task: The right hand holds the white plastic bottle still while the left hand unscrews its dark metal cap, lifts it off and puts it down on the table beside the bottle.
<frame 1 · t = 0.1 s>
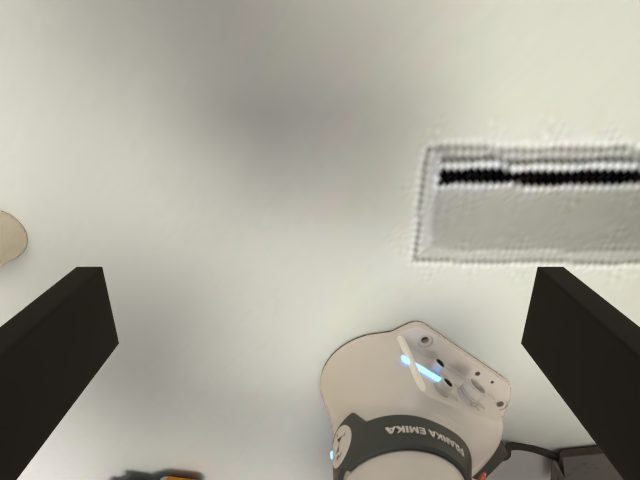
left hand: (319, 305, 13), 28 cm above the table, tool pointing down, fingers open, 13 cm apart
bottle: (0, 234, 42), on the table
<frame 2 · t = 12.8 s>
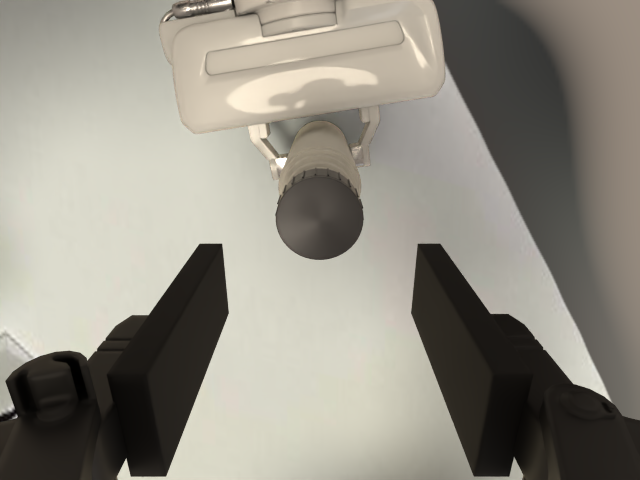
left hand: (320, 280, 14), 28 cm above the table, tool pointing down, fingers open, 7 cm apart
right hand: (322, 171, 34), fingers closed on bottle, 5 cm apart
cap: (319, 218, 20), point 21 cm above the table, screwed on, not yet turned
bottle: (320, 148, 40), on the table, touching right hand
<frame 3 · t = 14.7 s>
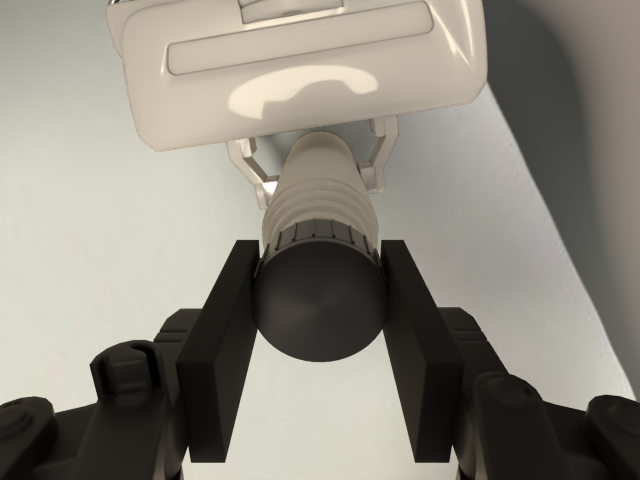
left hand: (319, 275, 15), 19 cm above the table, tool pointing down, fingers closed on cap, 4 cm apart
right hand: (322, 198, 27), fingers closed on bottle, 5 cm apart
cap: (320, 300, 13), point 21 cm above the table, screwed on, not yet turned, touching left hand
bottle: (320, 165, 32), on the table, touching right hand
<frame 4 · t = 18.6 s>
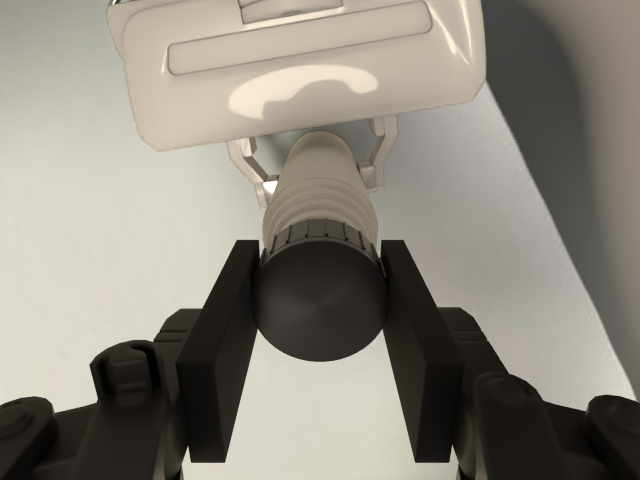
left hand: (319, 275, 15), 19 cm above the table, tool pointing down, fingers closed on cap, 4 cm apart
right hand: (322, 197, 27), fingers closed on bottle, 5 cm apart
cap: (320, 300, 13), point 21 cm above the table, turned 136° so far, risen 0.1 cm, still on its thread, touching left hand
bottle: (320, 164, 33), on the table, touching right hand
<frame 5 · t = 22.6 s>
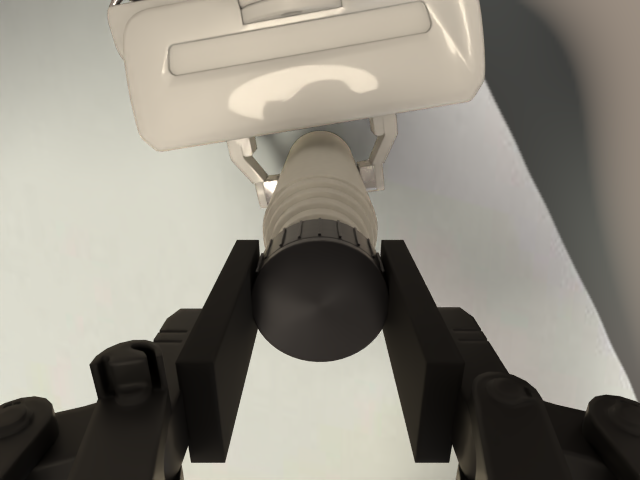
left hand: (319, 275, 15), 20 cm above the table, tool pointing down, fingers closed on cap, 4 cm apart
right hand: (322, 197, 27), fingers closed on bottle, 5 cm apart
cap: (320, 300, 13), point 21 cm above the table, turned 273° so far, risen 0.3 cm, still on its thread, touching left hand
bottle: (320, 164, 33), on the table, touching right hand
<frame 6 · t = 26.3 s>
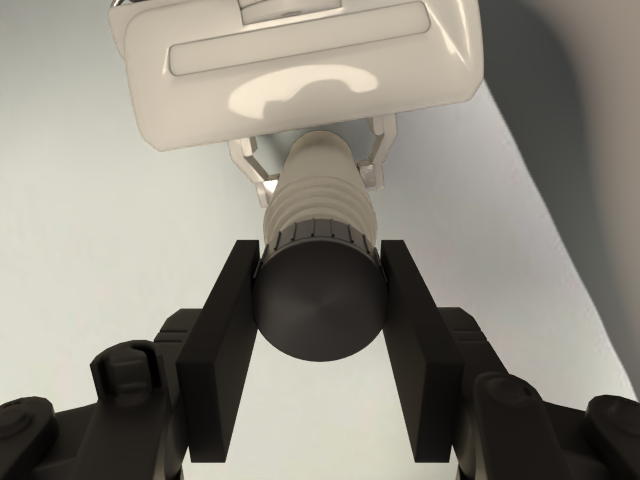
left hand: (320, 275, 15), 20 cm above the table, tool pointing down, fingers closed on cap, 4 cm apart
right hand: (322, 196, 27), fingers closed on bottle, 5 cm apart
cap: (320, 300, 13), point 21 cm above the table, turned 409° so far, risen 0.4 cm, still on its thread, touching left hand
bottle: (320, 163, 33), on the table, touching right hand
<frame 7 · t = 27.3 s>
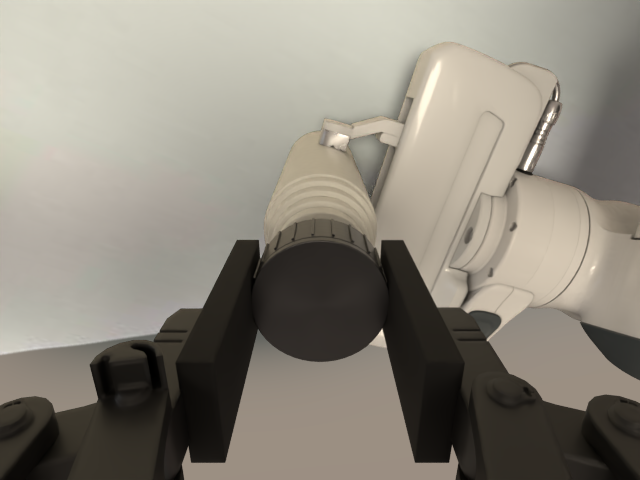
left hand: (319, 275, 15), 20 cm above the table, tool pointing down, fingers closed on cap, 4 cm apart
cap: (320, 300, 13), point 22 cm above the table, off its thread, touching left hand
bottle: (320, 164, 33), on the table, touching right hand
when the left hand's fingers open (1 cm above the table, at t = 33.9 s): cap stays where it is, point 2 cm above the table.
when the right hand's fingers open (6 cm above the table, at t = 35.3 s): bottle stays where it is, on the table.
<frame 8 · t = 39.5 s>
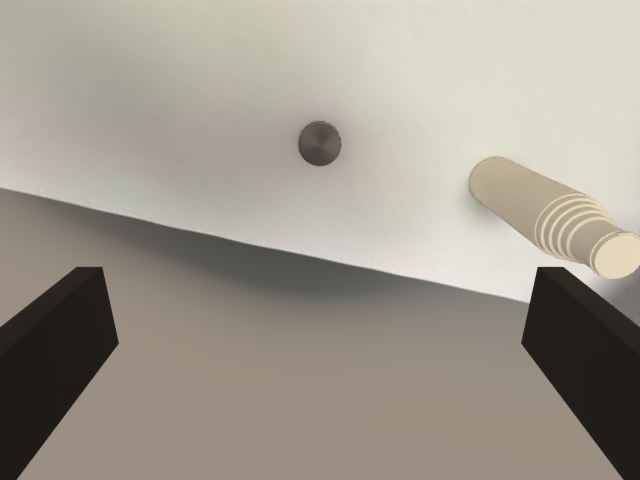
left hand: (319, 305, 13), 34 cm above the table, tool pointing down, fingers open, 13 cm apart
cap: (319, 144, 43), point 2 cm above the table, off its thread
bottle: (492, 180, 46), on the table
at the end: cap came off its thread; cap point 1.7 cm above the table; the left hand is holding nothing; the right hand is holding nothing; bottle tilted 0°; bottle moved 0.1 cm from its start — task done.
